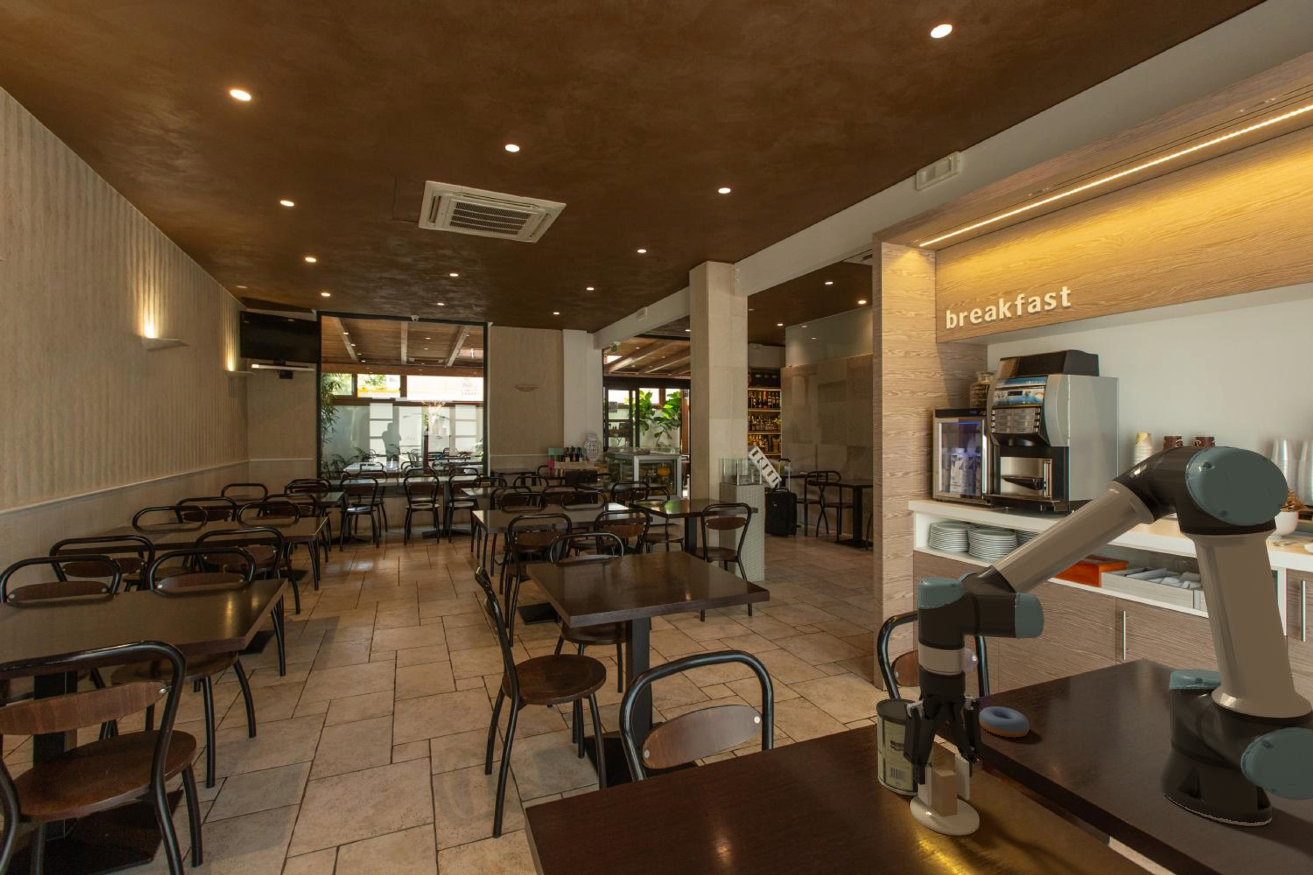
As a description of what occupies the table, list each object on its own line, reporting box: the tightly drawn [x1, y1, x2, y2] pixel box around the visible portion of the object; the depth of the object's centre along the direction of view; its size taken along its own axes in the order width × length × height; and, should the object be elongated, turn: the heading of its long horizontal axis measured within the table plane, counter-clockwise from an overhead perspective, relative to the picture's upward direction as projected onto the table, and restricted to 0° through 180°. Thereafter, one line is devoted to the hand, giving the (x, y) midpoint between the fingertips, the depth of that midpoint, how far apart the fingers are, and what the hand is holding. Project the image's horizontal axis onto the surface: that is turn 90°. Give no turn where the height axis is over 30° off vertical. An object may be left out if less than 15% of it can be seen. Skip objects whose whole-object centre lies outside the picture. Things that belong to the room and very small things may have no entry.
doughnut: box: [979, 706, 1030, 739], centre depth 141 cm, size 10×10×5 cm
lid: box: [909, 765, 980, 836], centre depth 109 cm, size 11×11×8 cm
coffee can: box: [875, 697, 935, 797], centre depth 120 cm, size 10×10×14 cm
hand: (943, 797), depth 109 cm, fingers open, 7 cm apart
